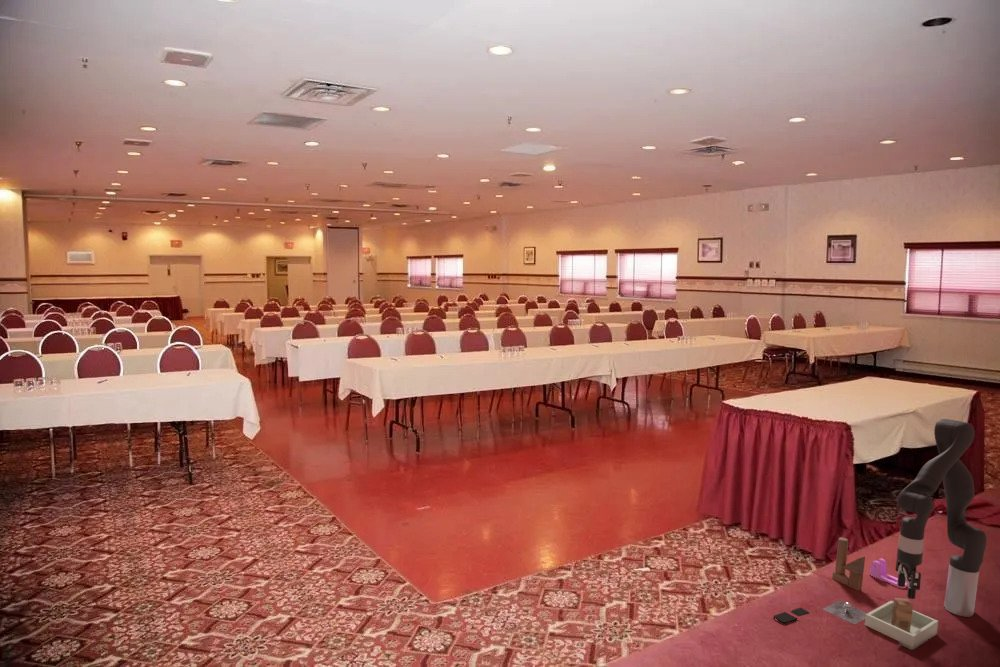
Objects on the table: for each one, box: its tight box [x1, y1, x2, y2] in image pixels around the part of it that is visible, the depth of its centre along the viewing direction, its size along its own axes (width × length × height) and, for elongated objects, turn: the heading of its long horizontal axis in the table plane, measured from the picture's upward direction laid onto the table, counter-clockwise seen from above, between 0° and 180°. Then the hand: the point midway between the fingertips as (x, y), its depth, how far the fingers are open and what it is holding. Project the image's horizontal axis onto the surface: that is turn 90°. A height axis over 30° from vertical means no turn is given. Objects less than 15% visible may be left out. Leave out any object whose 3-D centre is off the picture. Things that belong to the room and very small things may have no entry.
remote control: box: [773, 607, 810, 625], centre depth 247 cm, size 5×2×15 cm
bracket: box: [869, 558, 908, 588], centre depth 277 cm, size 13×6×7 cm, turn 33°
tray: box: [864, 600, 939, 651], centre depth 240 cm, size 18×16×5 cm
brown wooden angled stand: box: [831, 536, 866, 592], centre depth 271 cm, size 4×11×18 cm, turn 26°
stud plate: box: [822, 600, 868, 625], centre depth 250 cm, size 12×12×5 cm
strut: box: [891, 597, 914, 632], centre depth 240 cm, size 4×4×10 cm
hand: (905, 592), depth 238 cm, fingers open, 8 cm apart
